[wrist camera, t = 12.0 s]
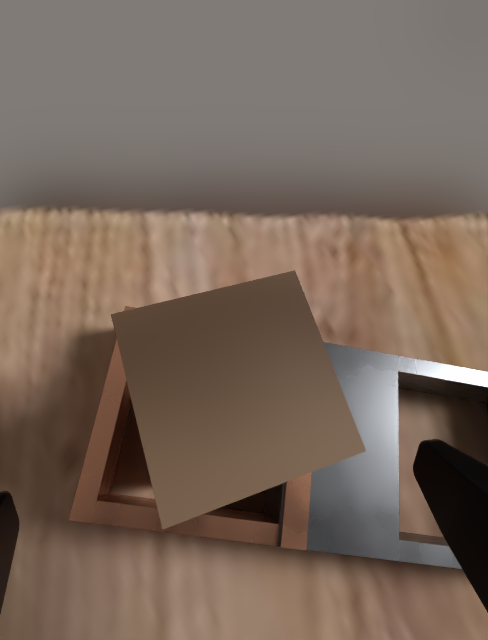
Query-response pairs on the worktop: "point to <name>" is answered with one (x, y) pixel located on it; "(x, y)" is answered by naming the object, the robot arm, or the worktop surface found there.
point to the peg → (232, 394)
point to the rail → (305, 491)
